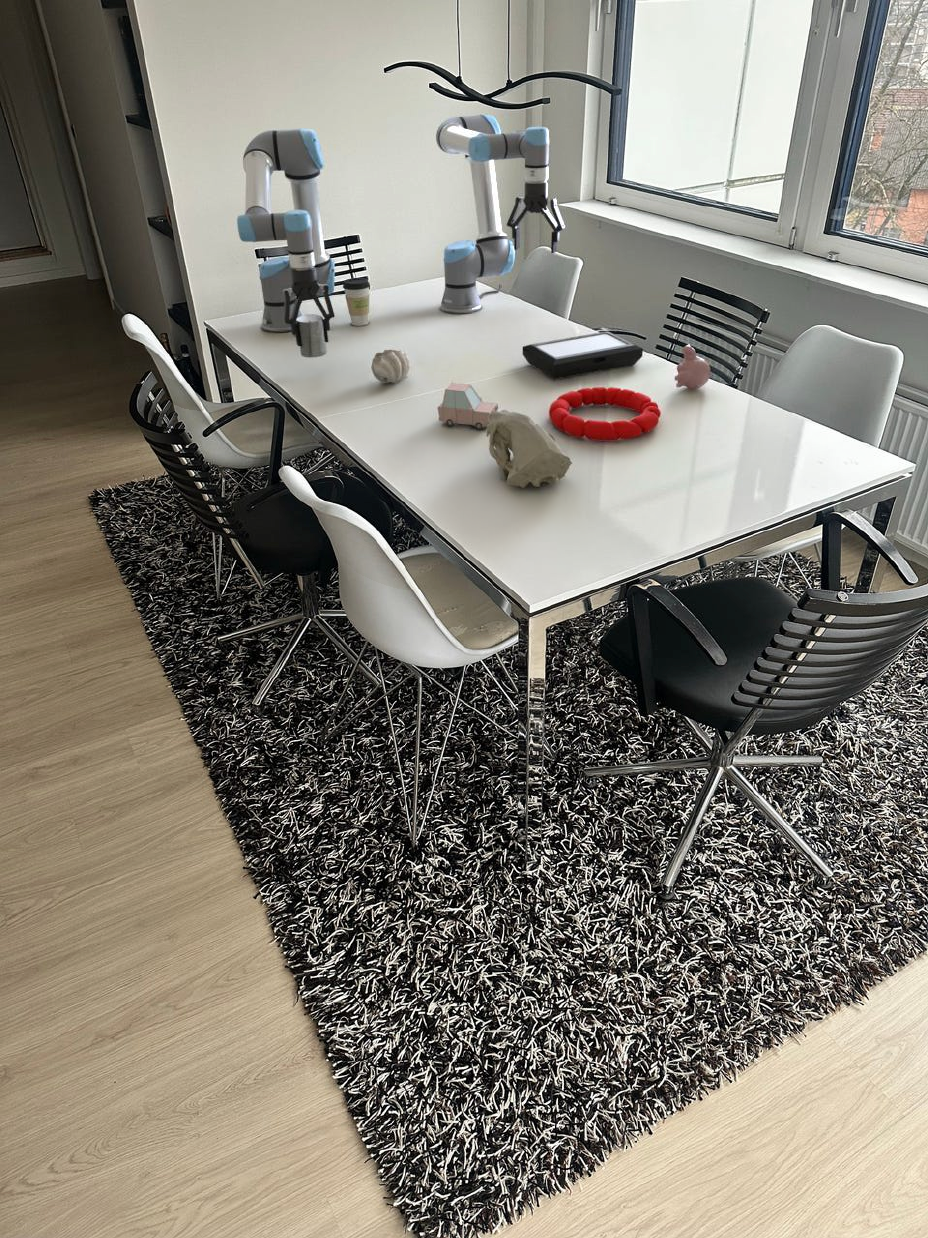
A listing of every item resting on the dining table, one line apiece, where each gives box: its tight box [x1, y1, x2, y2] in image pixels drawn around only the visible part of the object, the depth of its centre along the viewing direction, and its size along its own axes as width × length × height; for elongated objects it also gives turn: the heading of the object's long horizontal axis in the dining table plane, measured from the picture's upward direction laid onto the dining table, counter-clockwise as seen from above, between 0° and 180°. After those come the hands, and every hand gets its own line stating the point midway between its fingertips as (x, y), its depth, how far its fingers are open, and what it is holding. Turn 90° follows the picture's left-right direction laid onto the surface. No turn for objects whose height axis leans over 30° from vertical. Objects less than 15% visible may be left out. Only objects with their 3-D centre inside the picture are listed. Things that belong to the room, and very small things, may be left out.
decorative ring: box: [548, 386, 661, 442], centre depth 242 cm, size 7×30×30 cm
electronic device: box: [522, 330, 644, 381], centre depth 281 cm, size 32×6×20 cm
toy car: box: [437, 382, 499, 431], centre depth 243 cm, size 9×15×10 cm, turn 70°
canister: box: [296, 314, 328, 358], centre depth 278 cm, size 8×8×11 cm
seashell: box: [371, 349, 411, 384], centre depth 271 cm, size 10×15×10 cm
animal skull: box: [485, 409, 573, 489], centre depth 216 cm, size 17×25×20 cm
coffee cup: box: [342, 277, 371, 327], centre depth 323 cm, size 10×10×15 cm
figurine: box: [674, 344, 711, 390], centre depth 259 cm, size 9×11×12 cm
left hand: (312, 342), depth 279 cm, fingers closed on canister, 8 cm apart
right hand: (535, 250), depth 301 cm, fingers open, 13 cm apart
